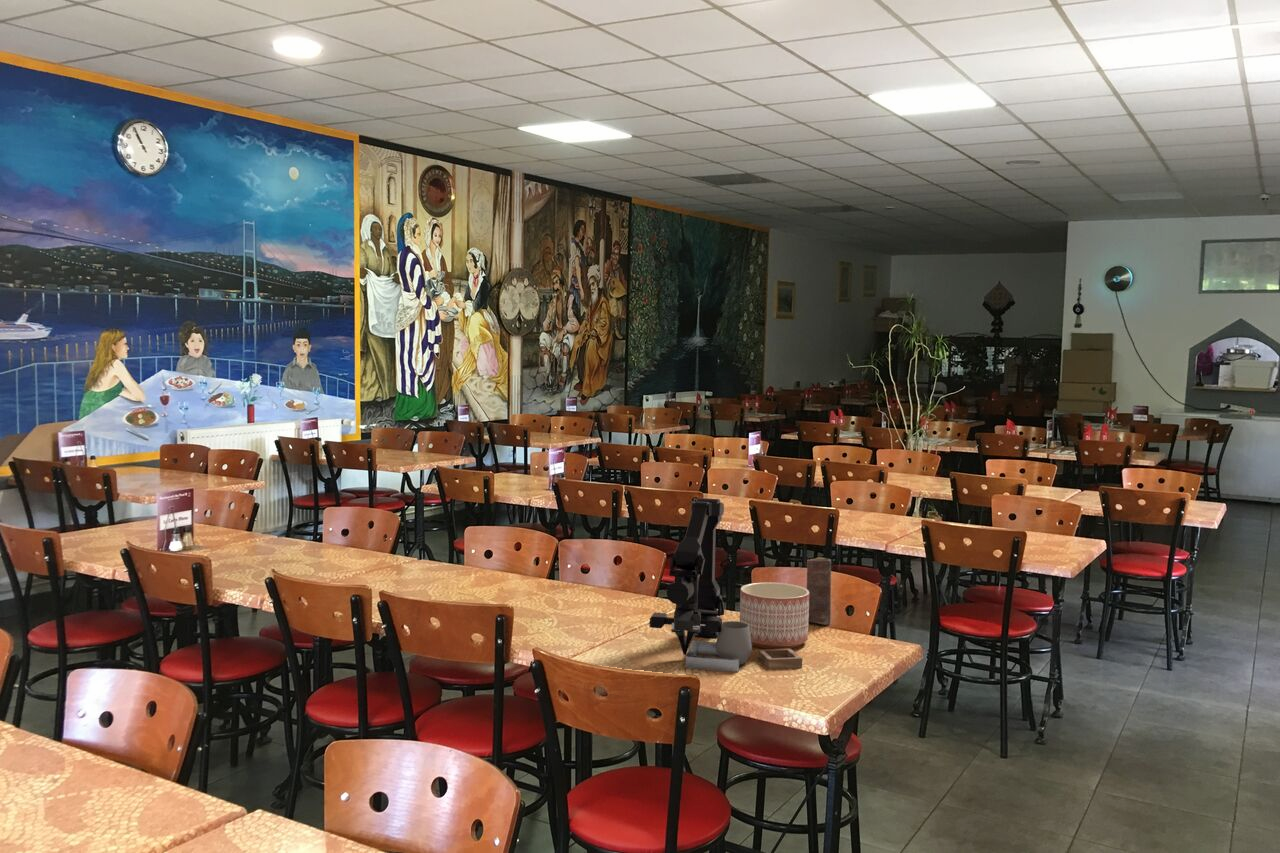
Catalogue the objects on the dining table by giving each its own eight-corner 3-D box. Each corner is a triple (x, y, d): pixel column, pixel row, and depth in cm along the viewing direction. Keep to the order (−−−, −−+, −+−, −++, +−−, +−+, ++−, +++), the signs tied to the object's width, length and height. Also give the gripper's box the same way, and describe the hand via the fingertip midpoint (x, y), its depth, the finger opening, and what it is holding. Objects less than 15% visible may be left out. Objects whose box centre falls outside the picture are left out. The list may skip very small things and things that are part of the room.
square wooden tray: (757, 658, 264) (758, 649, 264) (790, 657, 266) (790, 648, 265) (768, 669, 255) (769, 659, 255) (802, 667, 257) (802, 658, 257)
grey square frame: (685, 668, 254) (685, 656, 254) (692, 651, 269) (692, 640, 269) (738, 672, 252) (738, 660, 252) (742, 655, 267) (742, 644, 266)
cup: (708, 659, 262) (709, 622, 262) (739, 655, 266) (740, 618, 266) (726, 669, 254) (727, 631, 253) (758, 665, 258) (759, 627, 257)
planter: (732, 646, 274) (733, 594, 273) (747, 629, 292) (748, 580, 291) (801, 654, 268) (803, 600, 267) (812, 636, 286) (814, 586, 285)
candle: (811, 627, 297) (813, 560, 295) (801, 620, 304) (803, 556, 302) (834, 625, 299) (836, 560, 297) (823, 619, 306) (825, 555, 304)
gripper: (647, 600, 254) (645, 660, 255) (720, 605, 251) (717, 666, 252) (653, 591, 265) (651, 648, 266) (723, 595, 262) (721, 653, 263)
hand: (684, 654), depth 262 cm, fingers closed
